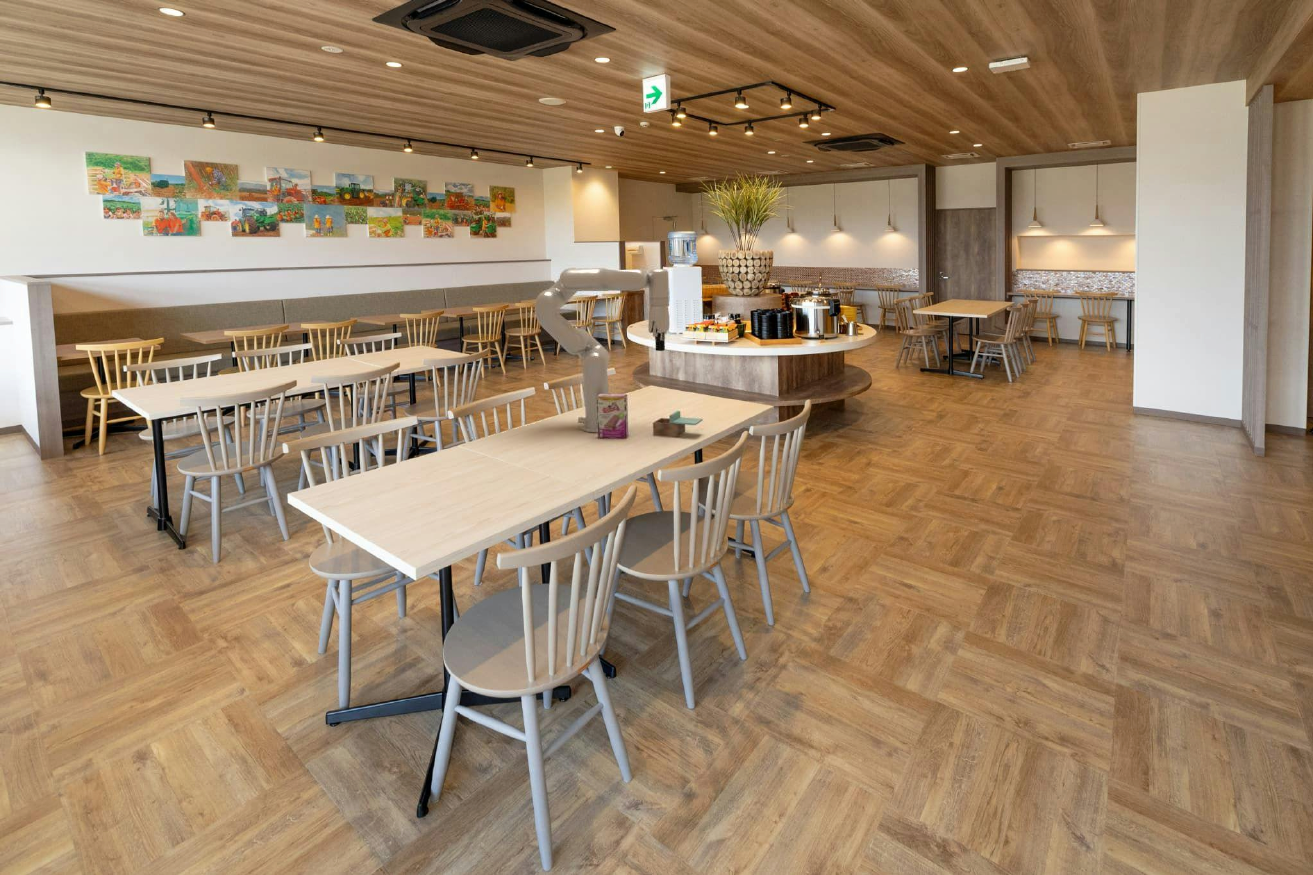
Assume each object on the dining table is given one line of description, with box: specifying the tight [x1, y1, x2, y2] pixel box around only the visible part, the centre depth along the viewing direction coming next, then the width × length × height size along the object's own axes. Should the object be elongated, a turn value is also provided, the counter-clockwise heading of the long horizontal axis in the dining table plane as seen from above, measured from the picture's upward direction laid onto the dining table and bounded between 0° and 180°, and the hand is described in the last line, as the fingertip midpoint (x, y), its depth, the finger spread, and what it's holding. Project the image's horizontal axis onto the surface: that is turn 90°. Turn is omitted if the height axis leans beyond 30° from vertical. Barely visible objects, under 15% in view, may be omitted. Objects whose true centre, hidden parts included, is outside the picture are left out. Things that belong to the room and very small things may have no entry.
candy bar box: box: [597, 393, 629, 439], centre depth 278 cm, size 11×5×16 cm, turn 84°
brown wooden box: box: [652, 417, 686, 438], centre depth 282 cm, size 10×8×5 cm
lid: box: [669, 410, 704, 426], centre depth 278 cm, size 10×8×3 cm
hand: (660, 350), depth 283 cm, fingers closed
